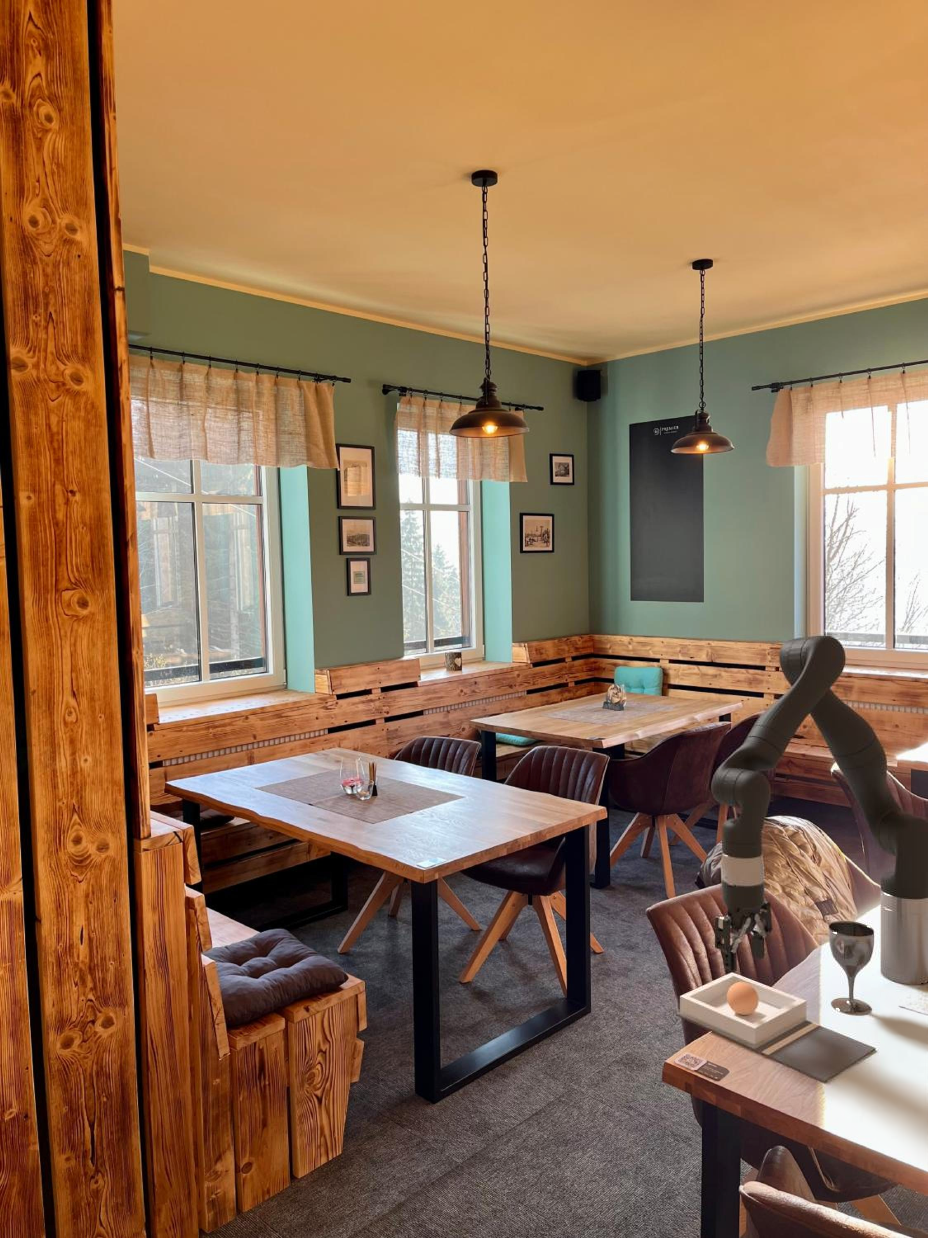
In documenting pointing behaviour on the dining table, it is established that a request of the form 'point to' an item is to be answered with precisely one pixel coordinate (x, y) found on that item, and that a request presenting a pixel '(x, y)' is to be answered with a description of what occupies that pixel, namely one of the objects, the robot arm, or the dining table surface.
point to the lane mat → (811, 1050)
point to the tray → (752, 1029)
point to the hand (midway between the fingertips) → (744, 964)
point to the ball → (742, 998)
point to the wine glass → (851, 959)
